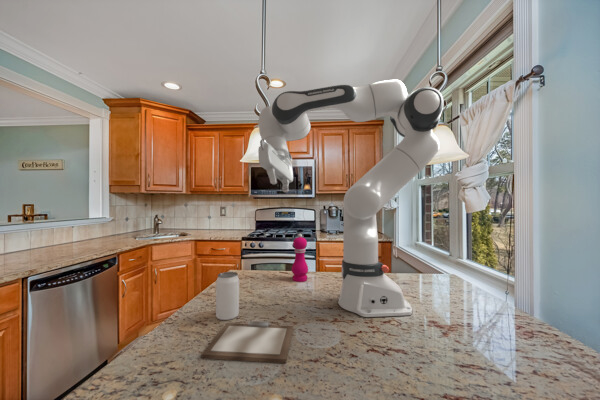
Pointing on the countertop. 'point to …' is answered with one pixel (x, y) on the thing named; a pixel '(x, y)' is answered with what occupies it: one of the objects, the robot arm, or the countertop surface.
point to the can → (227, 296)
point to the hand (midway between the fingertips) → (280, 187)
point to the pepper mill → (299, 260)
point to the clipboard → (251, 342)
